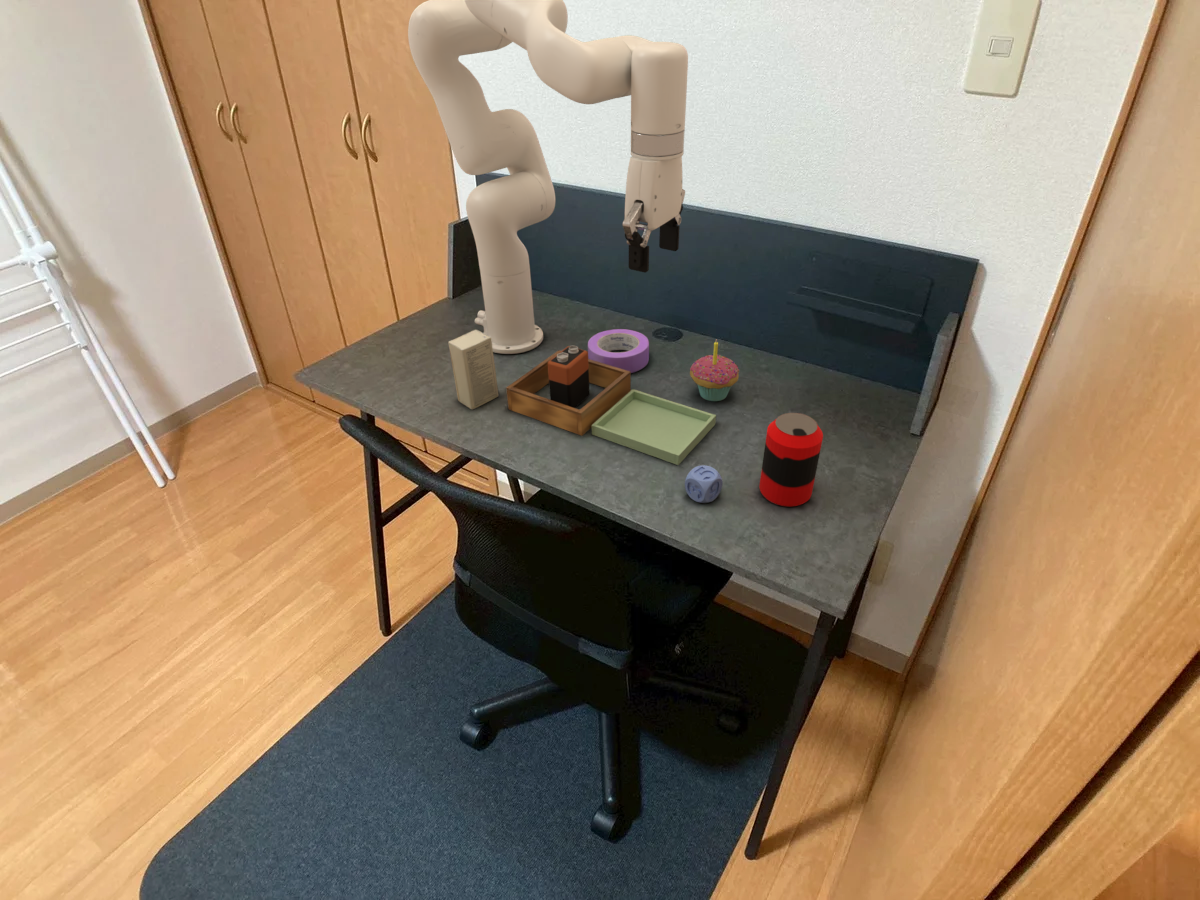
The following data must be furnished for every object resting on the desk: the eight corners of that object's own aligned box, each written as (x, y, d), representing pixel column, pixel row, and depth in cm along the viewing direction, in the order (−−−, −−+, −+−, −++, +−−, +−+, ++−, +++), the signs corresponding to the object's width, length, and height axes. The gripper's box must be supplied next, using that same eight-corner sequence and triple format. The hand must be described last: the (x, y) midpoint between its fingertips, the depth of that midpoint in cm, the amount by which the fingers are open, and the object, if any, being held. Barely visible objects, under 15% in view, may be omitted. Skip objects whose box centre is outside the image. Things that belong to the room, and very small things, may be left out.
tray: (591, 434, 119) (591, 425, 118) (632, 398, 128) (632, 388, 127) (678, 465, 112) (678, 455, 111) (715, 424, 121) (716, 415, 120)
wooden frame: (508, 409, 126) (505, 387, 123) (560, 371, 137) (558, 349, 134) (582, 436, 119) (581, 413, 116) (630, 393, 130) (630, 371, 127)
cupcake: (735, 409, 124) (741, 347, 117) (686, 404, 126) (689, 343, 119) (737, 383, 131) (744, 324, 124) (691, 380, 133) (694, 320, 126)
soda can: (764, 508, 103) (774, 440, 96) (754, 475, 110) (763, 409, 102) (817, 507, 103) (831, 439, 96) (804, 474, 109) (817, 408, 102)
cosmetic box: (485, 388, 132) (476, 328, 125) (500, 397, 129) (492, 336, 122) (456, 401, 129) (446, 340, 121) (471, 411, 126) (462, 349, 119)
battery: (549, 407, 126) (545, 357, 120) (570, 389, 131) (567, 340, 125) (570, 413, 125) (567, 363, 119) (590, 395, 129) (589, 345, 123)
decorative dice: (701, 482, 109) (702, 461, 106) (722, 494, 106) (724, 473, 104) (683, 494, 106) (684, 473, 104) (704, 507, 104) (705, 485, 102)
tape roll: (576, 365, 138) (575, 347, 136) (609, 340, 146) (609, 323, 144) (628, 381, 133) (628, 363, 131) (659, 355, 141) (660, 337, 138)
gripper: (662, 127, 109) (659, 237, 119) (602, 154, 97) (604, 274, 108) (707, 132, 106) (700, 246, 116) (651, 161, 94) (648, 284, 104)
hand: (654, 259), depth 112 cm, fingers open, 9 cm apart
